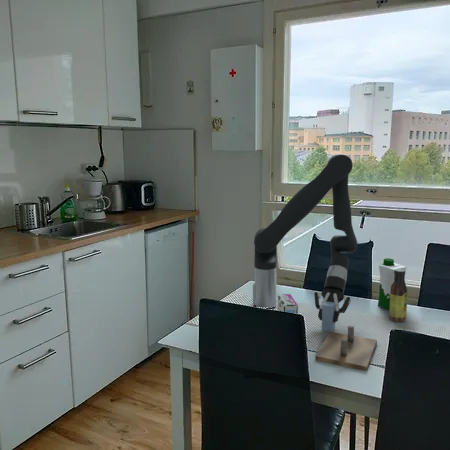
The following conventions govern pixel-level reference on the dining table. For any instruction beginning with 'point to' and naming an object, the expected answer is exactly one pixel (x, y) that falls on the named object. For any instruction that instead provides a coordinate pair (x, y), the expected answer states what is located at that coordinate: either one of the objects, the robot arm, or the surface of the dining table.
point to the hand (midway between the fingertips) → (327, 320)
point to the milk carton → (387, 281)
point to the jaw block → (328, 316)
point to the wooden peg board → (347, 350)
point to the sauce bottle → (398, 297)
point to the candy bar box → (287, 304)
